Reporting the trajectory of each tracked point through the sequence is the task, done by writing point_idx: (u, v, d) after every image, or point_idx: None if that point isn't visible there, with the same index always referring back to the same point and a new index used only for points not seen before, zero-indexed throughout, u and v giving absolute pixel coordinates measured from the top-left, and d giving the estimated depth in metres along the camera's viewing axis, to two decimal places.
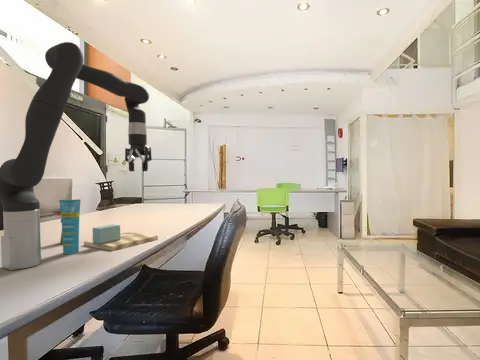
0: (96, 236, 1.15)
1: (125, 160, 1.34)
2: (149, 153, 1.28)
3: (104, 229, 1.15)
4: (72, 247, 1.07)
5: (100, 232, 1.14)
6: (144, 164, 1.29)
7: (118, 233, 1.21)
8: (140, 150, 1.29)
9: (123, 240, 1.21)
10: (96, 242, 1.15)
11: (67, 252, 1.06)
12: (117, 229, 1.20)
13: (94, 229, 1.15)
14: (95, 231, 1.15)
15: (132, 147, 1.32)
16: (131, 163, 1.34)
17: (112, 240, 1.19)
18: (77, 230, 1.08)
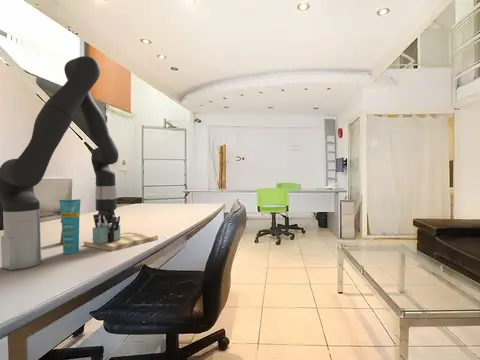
0: (96, 236, 1.15)
1: None
2: (116, 224, 1.16)
3: (104, 229, 1.15)
4: (72, 247, 1.07)
5: (100, 232, 1.14)
6: (110, 235, 1.16)
7: (118, 233, 1.21)
8: (108, 218, 1.16)
9: (123, 240, 1.21)
10: (96, 242, 1.15)
11: (67, 252, 1.06)
12: None
13: (94, 229, 1.15)
14: (95, 231, 1.15)
15: (100, 211, 1.19)
16: None
17: None
18: (77, 230, 1.08)
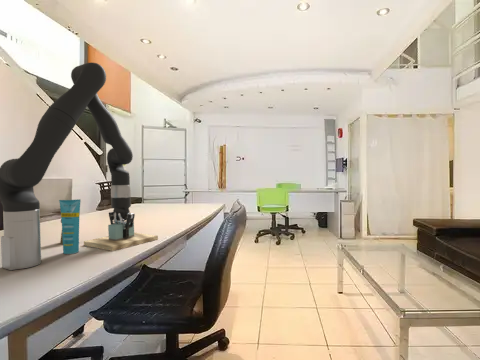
0: (112, 233, 1.21)
1: None
2: (131, 221, 1.22)
3: (119, 226, 1.21)
4: (72, 247, 1.07)
5: (115, 229, 1.20)
6: (125, 231, 1.22)
7: (132, 229, 1.27)
8: (123, 216, 1.22)
9: (123, 240, 1.21)
10: (112, 238, 1.21)
11: (67, 252, 1.06)
12: None
13: (110, 226, 1.21)
14: (111, 228, 1.21)
15: (115, 209, 1.25)
16: None
17: None
18: (77, 230, 1.08)
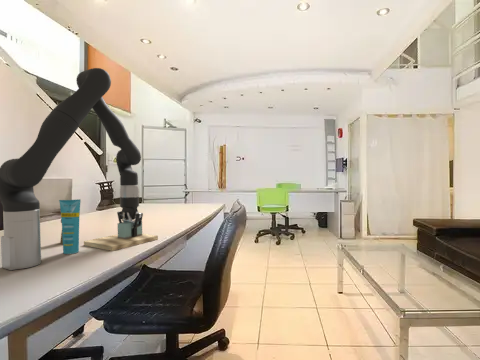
0: (121, 231, 1.24)
1: None
2: (140, 220, 1.25)
3: (128, 224, 1.25)
4: (72, 247, 1.07)
5: (124, 227, 1.23)
6: (133, 230, 1.26)
7: (140, 228, 1.30)
8: (132, 215, 1.26)
9: (123, 240, 1.21)
10: (121, 237, 1.24)
11: (67, 252, 1.06)
12: None
13: (119, 225, 1.25)
14: (120, 226, 1.24)
15: (123, 208, 1.28)
16: None
17: None
18: (77, 230, 1.08)
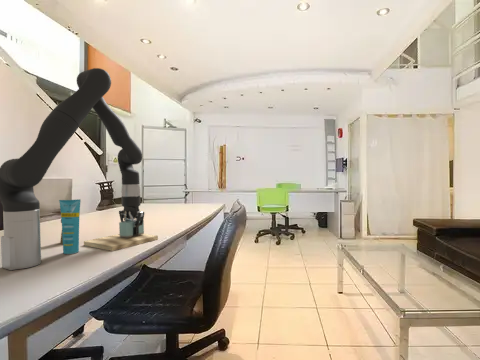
0: (122, 230, 1.25)
1: None
2: (141, 219, 1.26)
3: (130, 223, 1.26)
4: (72, 247, 1.07)
5: (126, 226, 1.24)
6: (135, 229, 1.27)
7: (142, 227, 1.31)
8: (133, 214, 1.26)
9: (123, 240, 1.21)
10: (123, 235, 1.25)
11: (67, 252, 1.06)
12: None
13: (121, 223, 1.25)
14: (122, 225, 1.25)
15: (125, 207, 1.29)
16: None
17: None
18: (77, 230, 1.08)
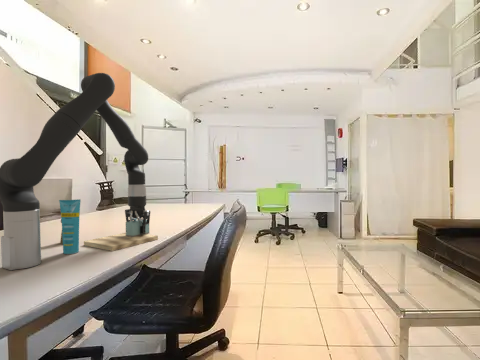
0: (129, 230, 1.28)
1: None
2: (148, 217, 1.28)
3: (136, 223, 1.28)
4: (72, 247, 1.07)
5: (132, 226, 1.27)
6: (142, 228, 1.29)
7: (147, 227, 1.34)
8: (139, 213, 1.29)
9: (123, 240, 1.21)
10: (129, 235, 1.28)
11: (67, 252, 1.06)
12: None
13: (127, 223, 1.28)
14: (128, 225, 1.28)
15: (131, 207, 1.32)
16: None
17: None
18: (77, 230, 1.08)
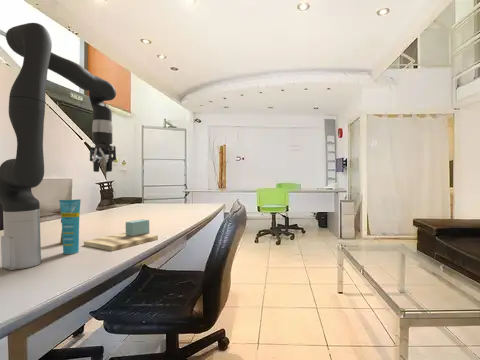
0: (129, 230, 1.28)
1: (90, 160, 1.27)
2: (113, 152, 1.21)
3: (136, 223, 1.28)
4: (72, 247, 1.07)
5: (132, 226, 1.27)
6: (108, 164, 1.21)
7: (147, 227, 1.34)
8: (104, 149, 1.22)
9: (123, 240, 1.21)
10: (129, 235, 1.28)
11: (67, 252, 1.06)
12: (147, 223, 1.33)
13: (127, 223, 1.28)
14: (128, 225, 1.28)
15: (96, 146, 1.25)
16: (96, 163, 1.26)
17: (143, 233, 1.31)
18: (77, 230, 1.08)
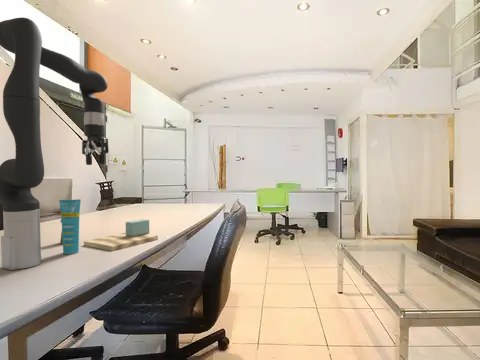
0: (129, 230, 1.28)
1: (82, 153, 1.25)
2: (106, 145, 1.20)
3: (136, 223, 1.28)
4: (72, 247, 1.07)
5: (132, 226, 1.27)
6: (100, 157, 1.20)
7: (147, 227, 1.34)
8: (96, 142, 1.21)
9: (123, 240, 1.21)
10: (129, 235, 1.28)
11: (67, 252, 1.06)
12: (147, 223, 1.33)
13: (127, 223, 1.28)
14: (128, 225, 1.28)
15: (89, 139, 1.23)
16: (88, 156, 1.25)
17: (143, 233, 1.31)
18: (77, 230, 1.08)
